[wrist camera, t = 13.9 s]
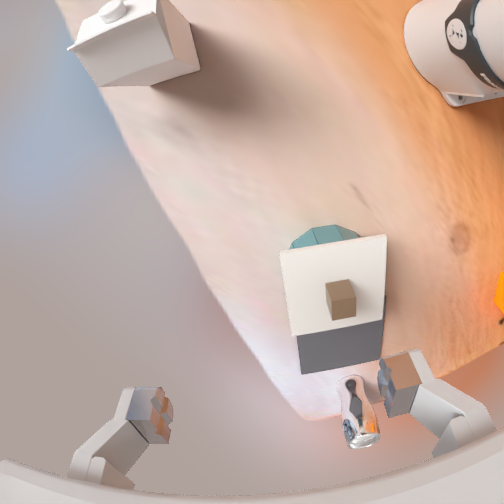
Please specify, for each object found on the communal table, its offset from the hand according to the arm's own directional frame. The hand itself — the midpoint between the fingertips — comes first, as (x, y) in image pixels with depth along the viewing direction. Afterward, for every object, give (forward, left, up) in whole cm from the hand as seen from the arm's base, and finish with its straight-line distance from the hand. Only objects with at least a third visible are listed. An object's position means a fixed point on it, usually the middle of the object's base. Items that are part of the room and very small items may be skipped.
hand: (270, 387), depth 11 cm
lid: (-8, +17, -28) cm, 34 cm away
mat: (-10, +33, -34) cm, 48 cm away
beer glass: (-12, +48, -34) cm, 60 cm away
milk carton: (+8, -17, -34) cm, 39 cm away
